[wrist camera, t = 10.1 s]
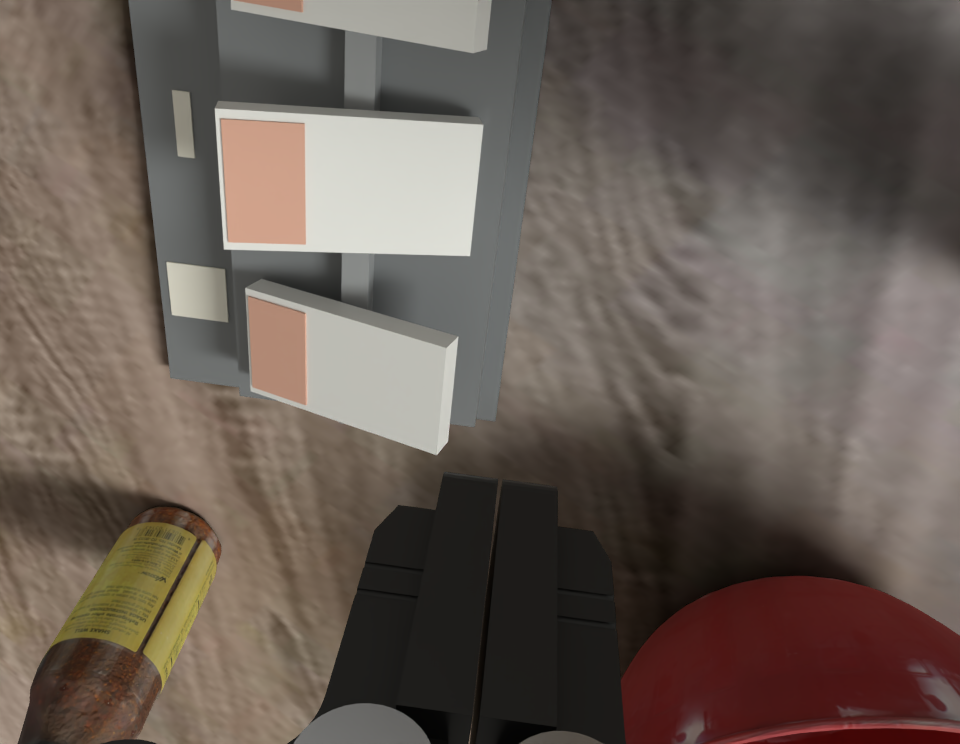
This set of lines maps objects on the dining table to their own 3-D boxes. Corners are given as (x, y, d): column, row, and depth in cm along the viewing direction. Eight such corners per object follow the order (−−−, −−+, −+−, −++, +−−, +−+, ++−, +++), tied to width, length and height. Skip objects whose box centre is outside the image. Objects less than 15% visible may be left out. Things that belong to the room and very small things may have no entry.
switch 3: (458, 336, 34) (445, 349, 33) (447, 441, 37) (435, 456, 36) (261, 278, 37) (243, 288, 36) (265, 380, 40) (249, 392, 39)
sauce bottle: (111, 526, 51) (-114, 835, 34) (177, 485, 49) (-28, 794, 32) (184, 590, 54) (8, 910, 37) (250, 554, 51) (96, 876, 34)
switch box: (579, -205, 30) (582, -225, 26) (496, 411, 44) (489, 467, 40) (112, -259, 31) (35, -288, 26) (178, 368, 45) (135, 420, 40)
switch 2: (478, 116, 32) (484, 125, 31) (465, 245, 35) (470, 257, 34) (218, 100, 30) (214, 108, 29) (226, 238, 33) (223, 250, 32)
